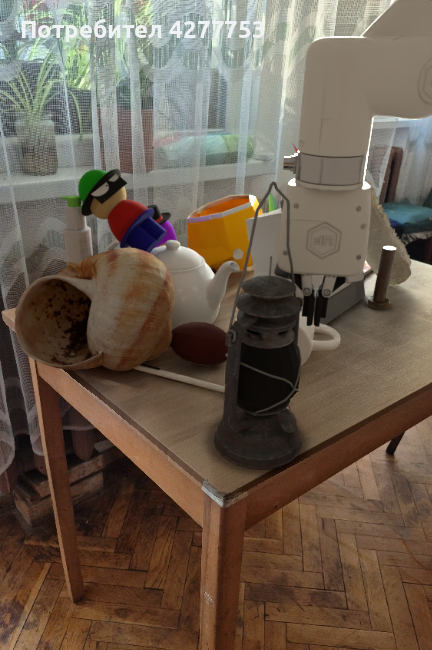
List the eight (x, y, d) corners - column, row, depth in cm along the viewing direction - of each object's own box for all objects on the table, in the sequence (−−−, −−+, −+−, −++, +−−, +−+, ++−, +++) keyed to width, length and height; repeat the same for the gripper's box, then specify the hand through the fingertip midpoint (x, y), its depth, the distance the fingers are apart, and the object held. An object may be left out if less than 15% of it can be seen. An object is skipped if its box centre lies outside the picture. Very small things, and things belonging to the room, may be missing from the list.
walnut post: (387, 302, 105) (399, 245, 99) (389, 310, 102) (402, 252, 96) (366, 300, 105) (376, 243, 100) (367, 308, 102) (379, 250, 96)
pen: (126, 364, 80) (126, 358, 80) (246, 396, 74) (246, 389, 73) (123, 367, 80) (122, 360, 79) (243, 399, 73) (244, 392, 73)
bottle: (81, 307, 98) (69, 192, 87) (102, 311, 96) (93, 195, 86) (67, 316, 94) (53, 197, 84) (89, 321, 93) (77, 201, 82)
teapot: (202, 293, 105) (204, 222, 98) (238, 333, 91) (243, 253, 84) (106, 303, 100) (101, 228, 93) (128, 347, 85) (123, 263, 78)
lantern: (260, 487, 59) (282, 203, 43) (190, 445, 65) (187, 182, 49) (322, 436, 67) (361, 180, 51) (255, 403, 73) (270, 165, 57)
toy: (173, 230, 90) (104, 170, 89) (177, 210, 82) (100, 143, 81) (138, 269, 89) (67, 209, 88) (138, 253, 80) (59, 185, 79)
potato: (222, 379, 78) (224, 340, 74) (158, 365, 80) (157, 327, 77) (238, 357, 83) (241, 320, 80) (178, 344, 86) (178, 309, 83)
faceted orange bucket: (163, 236, 103) (188, 311, 111) (283, 190, 107) (299, 266, 115) (148, 224, 115) (171, 293, 123) (257, 183, 119) (273, 252, 127)
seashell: (51, 217, 79) (101, 277, 92) (-13, 340, 72) (50, 385, 85) (175, 229, 70) (211, 292, 83) (115, 369, 64) (163, 414, 77)
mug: (254, 367, 81) (258, 318, 77) (263, 338, 90) (267, 293, 86) (335, 378, 79) (344, 328, 75) (337, 348, 88) (344, 302, 84)
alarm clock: (315, 331, 92) (332, 209, 82) (240, 306, 100) (247, 193, 90) (365, 297, 107) (385, 189, 96) (295, 278, 114) (307, 177, 104)
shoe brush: (329, 188, 105) (325, 202, 102) (364, 170, 101) (361, 183, 98) (384, 278, 117) (383, 292, 114) (418, 265, 112) (417, 280, 109)
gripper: (259, 173, 57) (251, 330, 67) (405, 179, 55) (375, 339, 65) (265, 161, 64) (257, 306, 73) (396, 166, 62) (370, 314, 71)
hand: (312, 321), depth 69 cm, fingers closed
